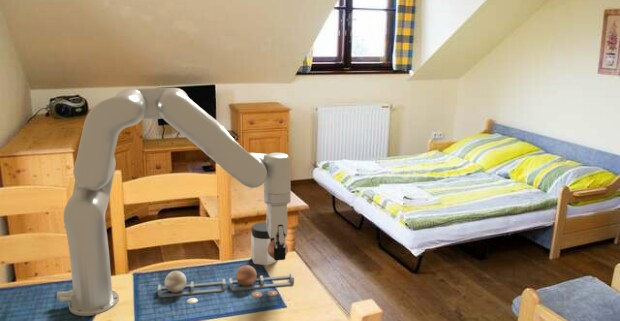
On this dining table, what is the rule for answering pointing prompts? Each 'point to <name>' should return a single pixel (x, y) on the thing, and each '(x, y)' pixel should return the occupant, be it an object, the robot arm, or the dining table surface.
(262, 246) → the jar
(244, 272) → the terracotta ball
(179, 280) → the cream ball
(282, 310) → the dining table surface
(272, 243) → the terracotta ball
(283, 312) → the dining table surface
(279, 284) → the grey ball rail
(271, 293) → the tiles
